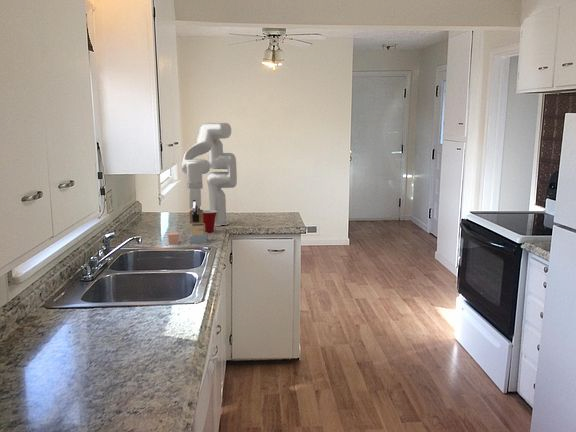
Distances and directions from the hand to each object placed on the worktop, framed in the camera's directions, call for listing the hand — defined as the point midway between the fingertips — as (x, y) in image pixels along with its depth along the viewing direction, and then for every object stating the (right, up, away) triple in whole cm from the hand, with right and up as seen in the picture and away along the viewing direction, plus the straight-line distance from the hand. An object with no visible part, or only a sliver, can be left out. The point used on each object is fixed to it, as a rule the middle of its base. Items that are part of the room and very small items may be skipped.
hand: (196, 220), depth 254 cm
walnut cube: (0, -1, 0) cm, 1 cm away
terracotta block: (-12, -12, -1) cm, 17 cm away
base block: (+1, -11, +2) cm, 11 cm away
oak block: (+1, -7, +2) cm, 7 cm away
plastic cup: (+2, -7, +25) cm, 26 cm away
